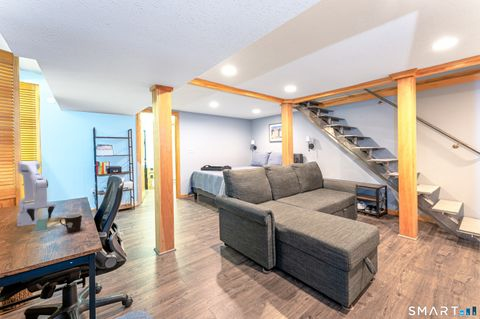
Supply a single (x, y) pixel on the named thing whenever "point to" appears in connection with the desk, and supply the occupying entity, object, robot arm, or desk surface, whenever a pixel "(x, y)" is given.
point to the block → (41, 224)
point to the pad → (41, 230)
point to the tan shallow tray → (55, 221)
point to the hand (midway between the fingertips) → (41, 219)
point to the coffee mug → (72, 223)
